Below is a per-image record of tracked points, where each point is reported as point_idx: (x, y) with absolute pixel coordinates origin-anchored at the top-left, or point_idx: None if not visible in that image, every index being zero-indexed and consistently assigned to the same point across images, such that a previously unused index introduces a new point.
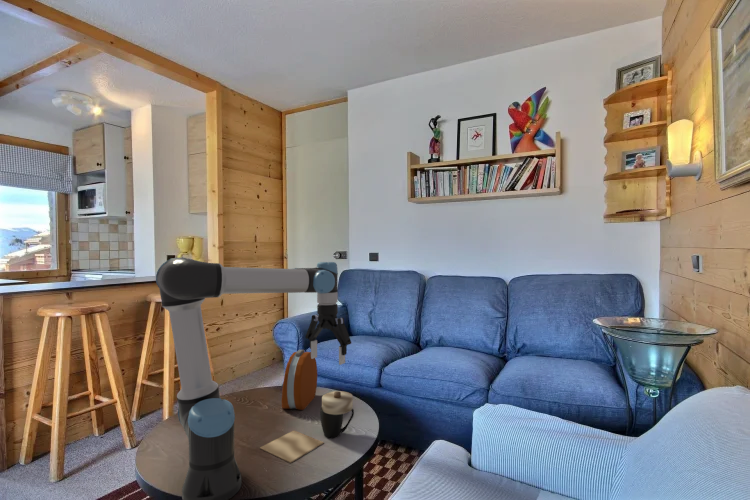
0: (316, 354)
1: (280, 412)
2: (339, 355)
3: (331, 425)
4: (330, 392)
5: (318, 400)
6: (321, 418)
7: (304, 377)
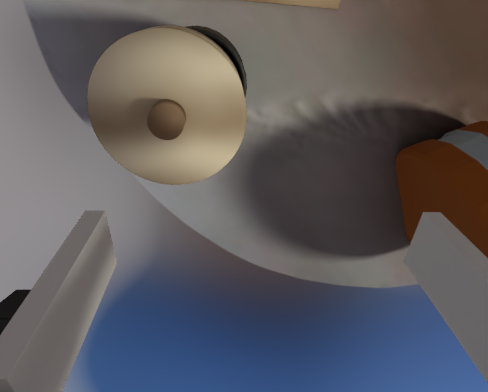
0: (419, 272)
1: (463, 102)
2: (61, 271)
3: None
4: (237, 143)
5: (383, 225)
6: (216, 31)
7: (459, 225)
